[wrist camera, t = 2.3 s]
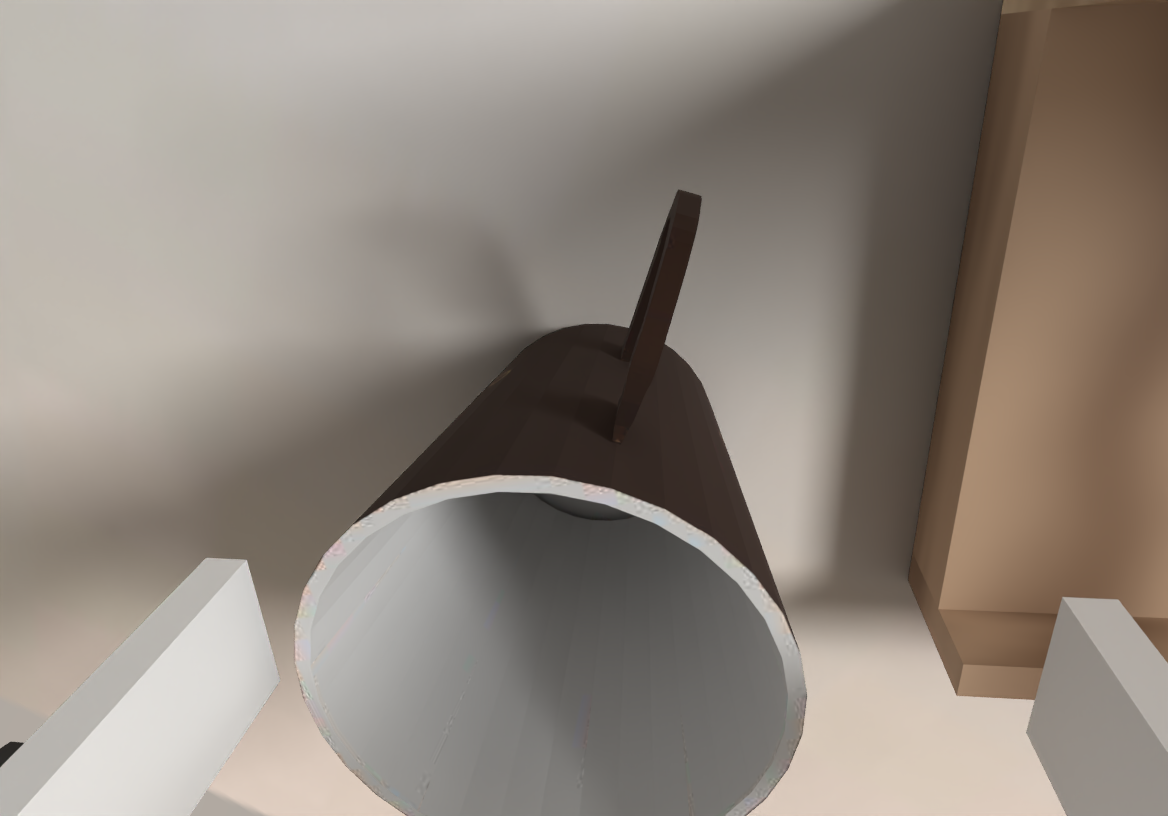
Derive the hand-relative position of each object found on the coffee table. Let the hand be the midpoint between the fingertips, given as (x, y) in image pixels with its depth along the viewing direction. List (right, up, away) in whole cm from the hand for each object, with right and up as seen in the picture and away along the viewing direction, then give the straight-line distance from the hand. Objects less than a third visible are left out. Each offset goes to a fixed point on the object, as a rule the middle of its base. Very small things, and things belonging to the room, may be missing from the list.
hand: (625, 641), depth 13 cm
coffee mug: (+1, +4, +9) cm, 10 cm away
